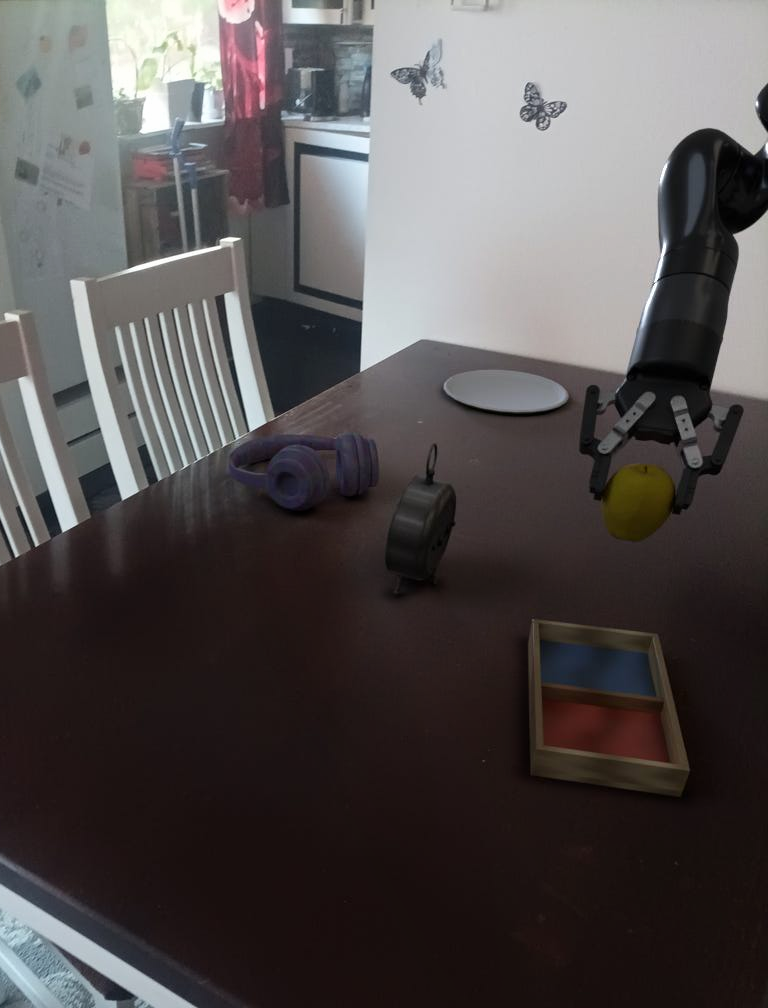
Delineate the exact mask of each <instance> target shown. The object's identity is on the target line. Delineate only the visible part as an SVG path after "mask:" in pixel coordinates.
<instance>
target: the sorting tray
mask: <svg viewBox="0 0 768 1008" xmlns="http://www.w3.org/2000/svg"><path fill="white" fill-rule="evenodd" d="M527 659H528V660H527V667H528V669H527V671H528V714H529V715H528V717H529V718H528V719H529V720H528V721H529V760H530V761H529V762H530V763H529V764H530V765H529V766H530V767H529V768H530V775H531V776H534V777H535V776H536V777H542V778H549V779H556V780H563V781H569V782H576V783H583V784H588V785H589V784H590V785H596V786H603V787H610V788H615V789H616V788H617V789H623V790H632V791H636V792H643V793H644V792H645V793H651V794H659V795H665V796H671V797H678V798H681V797H682V794H683V791H684V789H685V787H686V783H687V781H688V778H689V775H690V772H691V769H690V764H689V760H688V756H687V755H688V754H687V751H686V747H685V743H684V739H683V735H682V730H681V726H680V721H679V718H678V713H677V709H676V706H675V705H676V704H675V701H674V697H673V692H672V688H671V683H670V679H669V675H668V670H667V667H666V663H665V658H664V653H663V649H662V645H661V641H660V637H659V633H654V632H645V631H644V632H643V631H635V630H627V629H619V628H611V627H602V626H595V625H584V624H577V623H568V622H562V621H561V622H560V621H552V620H546V619H545V620H544V619H536V618H532V620H531V625H530V630H529V636H528V640H527Z"/></svg>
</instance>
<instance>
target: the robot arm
mask: <svg viewBox="0 0 768 1008" xmlns="http://www.w3.org/2000/svg"><path fill="white" fill-rule="evenodd" d="M754 110H755V113H756V117H757V119H758V120H759V122H760V125H761V126H762V128H763V129H764V131H765V132H766V133H767V134H768V82H766V84H765V85H764V86H763V87H762V88H761V90H760V91H759V92H758V94H757V96H756V98H755V102H754ZM767 212H768V137H766V139H765V142H764V143H763V144H762V146H761V147H760V149H759V150H758V151H757V152H756V153H754V154H753V152H751V151H749V150H748V149H746V148H745V147H744V146H743V145H742V144H740V143H739V142H738V141H736V140H735V139H734V138H733V137H732V136H730V135H729V134H727V133H726V132H725V131H722V130H720V129H718V128H713V127H705V128H700V129H697V130H695V131H693V132H691V133H689V134H688V135H687V136H685V137H684V138H682V139H681V140H680V141H679V142H678V143H677V145H675V147H673V149H672V151H671V153H670V154H669V156H668V157H667V159H666V161H665V163H664V166H663V168H662V170H661V173H660V177H659V182H658V187H657V231H658V233H657V235H658V237H657V239H658V246H659V257H658V260H657V264H656V266H655V271H654V274H653V278H652V282H651V286H650V291H649V294H648V296H647V299H646V301H645V303H644V306H643V309H642V312H641V315H640V318H639V322H638V326H637V329H636V333H635V337H634V343H633V346H632V350H631V354H630V357H629V360H628V361H629V362H628V365H627V369H626V373H625V377H624V380H623V382H622V384H621V385H620V386H619V387H618V388H617V390H600V387H599V386H598V385H597V384H591V385H588V386H587V388H586V390H585V396H584V397H585V398H584V404H583V411H582V419H581V426H580V433H579V441H578V442H579V445H578V451H579V453H580V454H581V455H583V456H584V455H586V456H589V457H591V458H592V459H593V461H594V462H593V465H592V469H591V473H590V478H589V481H588V491H589V494H593V500H594V501H599V502H602V496H603V492H604V488H605V486H606V484H607V479H608V477H609V472H610V468H611V463H612V459H613V458H614V456H616V454H618V453H619V451H620V450H622V449H624V448H625V447H626V446H627V444H628V443H630V441H631V440H632V439H633V438H634V440H635V441H641V442H649V441H654V442H656V443H659V444H661V445H666V446H671V444H673V447H674V450H675V453H676V456H677V458H679V461H680V464H681V467H682V472H681V475H680V477H679V482H678V485H677V489H676V496H675V502H674V506H673V509H672V512H671V514H672V515H677V516H680V515H681V514H682V513H681V512H682V511H683V510H686V511H687V510H688V509H689V508H690V507H691V506H692V503H693V501H694V497H695V493H696V489H697V485H698V480H699V478H700V477H702V476H704V475H710V476H718V475H719V474H720V473H721V472H722V470H723V467H724V464H725V463H726V461H727V458H728V455H729V452H730V449H731V447H732V444H733V441H734V439H735V436H736V434H737V431H738V428H739V426H740V423H741V421H742V420H741V419H742V417H743V414H744V411H745V410H744V407H743V405H741V404H739V403H738V404H733V405H731V406H730V407H727V406H723V405H719V404H714V403H713V400H712V398H711V388H712V384H713V379H714V376H715V372H716V367H717V363H718V358H719V355H720V350H721V346H722V343H723V340H724V335H725V330H726V326H727V321H728V315H729V302H730V296H731V293H732V288H733V284H734V280H735V276H736V272H737V268H738V263H739V257H740V248H739V243H738V240H737V239H736V237H735V236H734V235H737V234H739V233H741V232H744V231H746V230H747V229H749V228H751V227H752V226H753V225H755V224H756V223H757V222H759V220H760V219H761V218H762V217H764V215H765V214H766V213H767ZM613 405H614V407H615V409H616V411H617V413H618V415H619V417H620V419H619V420H618V421H617V422H616V424H614V426H613V428H612V429H611V431H610V432H609V433H608V434H607V435H606V436H605V437H604V439H602V440H601V439H599V438H597V437H595V431H596V423H597V416H601V415H604V414H605V413H606V412H607V409H608V408H609V406H613ZM707 419H710V420H711V421H712V429H713V431H714V432H716V433H719V434H718V436H717V440H716V442H715V445H714V448H713V449H712V453H711V454H709V455H705V456H702V454H701V451H700V448H699V445H698V437H697V434H696V431H695V429H696V428H697V427H699V426H700V425H701V424H702V423H703V422H705V421H706V420H707Z"/></svg>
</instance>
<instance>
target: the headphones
mask: <svg viewBox="0 0 768 1008" xmlns="http://www.w3.org/2000/svg"><path fill="white" fill-rule="evenodd" d="M318 451H320V452H321V451H334V455H335V456H334V457H335V458H334V459H335V471H336V478H337V483H338V487H339V491H340V494H342V496H345V497H353V496H355V495H363V494H364V493H365V492H366V491H367V490H368V489H369V488H376V486H378V483H379V478H380V463H379V453H378V448H377V444H376V441H375V440H374V439H373V438H372V437H369V438H367V437H366V438H365V437H364V436H362V435H361V434H360V433H358V432H352V433H350V432H342V433H339V434H338V435H337V436H336V438H333V437H328V436H321V435H313V434H311V435H310V434H272V435H271V434H270V435H265V436H262V437H256V438H253V439H249V440H247V441H245V442H243V443H242V444H240V445H239V446H236V448H234V449H233V451H232V452H230V454H229V456H228V459H227V460H228V461H227V462H228V463H227V464H228V472H229V476H230V477H231V478H232V479H234V480H235V481H236V482H237V483H241V484H242V485H246V486H250V487H254V488H259V489H261V490H263V491H265V492H266V493H267V494H269V496H270V498H271V499H272V500H273V501H274V502H275V503H276V504H277V505H278V506H280V507H282V508H284V509H287V510H291V511H294V512H301V511H306V510H309V509H310V508H313V507H315V506H317V505H319V504H320V503H321V502H322V501H323V500H324V499H325V497H326V495H327V493H328V492H329V488H330V479H331V478H330V472H329V468H328V466H327V463H326V462H325V460H324V458H323V457H322V456H321V454H320V453H318ZM267 460H269V462H268V464H267V469H266V472H265V473H258V472H255V471H248V470H246V469H242V468H240V467H244V466H247V465H251V464H256V463H259V462H262V461H267Z"/></svg>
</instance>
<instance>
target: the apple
mask: <svg viewBox="0 0 768 1008" xmlns="http://www.w3.org/2000/svg"><path fill="white" fill-rule="evenodd" d="M676 493H677V489H676V485H675V482H674V479H673V478H672V476H671V475H670V474H669V473H668V472H667V471H666V470H665V469H664V468H663V467H661V466H658V465H656V464H652V463H647V462H646V463H645V462H638V463H637V462H635V463H632V464H628V465H625V466H623V467H621V468H619V469H618V470H617V471H615V472H614V473H612V475H611V476H610V478H609V479H608V481H606V484H605V488H604V492H603V496H602V500H601V515H602V519H603V524H604V527H605V529H606V531H607V532H608V533H609V534H610V536H611V537H612V538H614V539H616V540H622V541H629V542H633V543H639V542H642V541H644V540H646V539H648V538H649V537H651V536H652V535H654V534H655V533H656V532H657V531H658V530H659V529H660V528H662V526H663V525H664V524H665V523H666V522H667V521H668V519H669V518H670V515H671V514H672V510H673V506H674V502H675V497H676Z"/></svg>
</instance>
